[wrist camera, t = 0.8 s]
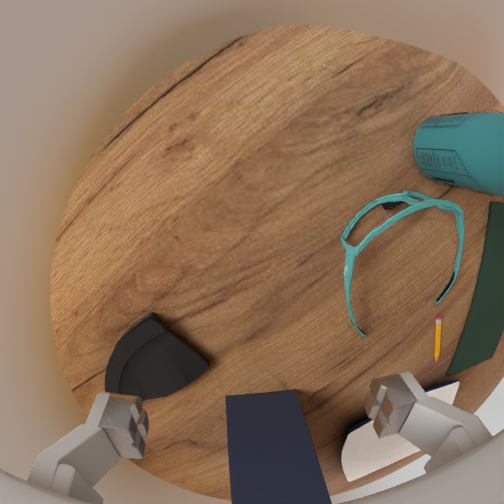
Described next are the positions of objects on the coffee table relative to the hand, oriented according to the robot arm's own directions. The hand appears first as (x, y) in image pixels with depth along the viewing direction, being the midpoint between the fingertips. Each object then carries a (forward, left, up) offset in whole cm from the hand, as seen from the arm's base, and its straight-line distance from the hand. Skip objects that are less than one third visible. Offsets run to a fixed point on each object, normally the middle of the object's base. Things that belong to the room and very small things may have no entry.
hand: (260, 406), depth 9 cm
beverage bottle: (-12, +17, -17) cm, 27 cm away
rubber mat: (+2, +37, -17) cm, 41 cm away
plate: (+27, +29, -17) cm, 43 cm away
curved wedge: (+13, -8, -17) cm, 23 cm away
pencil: (+9, +27, -17) cm, 33 cm away
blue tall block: (+23, +6, -17) cm, 29 cm away
